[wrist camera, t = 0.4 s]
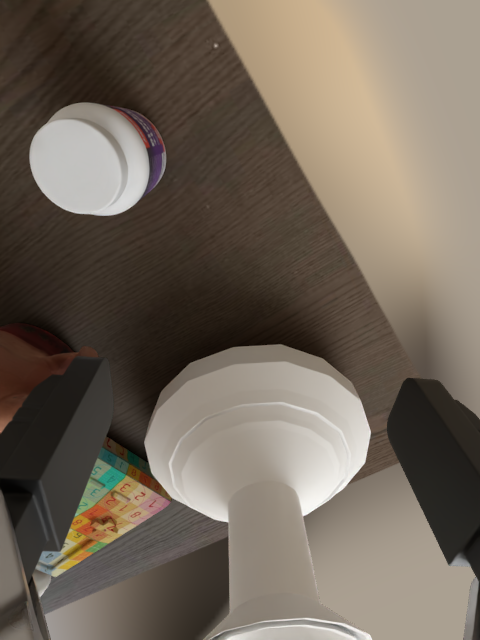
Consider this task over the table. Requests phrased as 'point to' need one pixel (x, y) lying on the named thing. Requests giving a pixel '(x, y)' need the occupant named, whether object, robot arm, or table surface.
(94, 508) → the puzzle game
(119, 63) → the table surface
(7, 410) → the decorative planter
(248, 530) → the white vase
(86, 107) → the pill bottle
